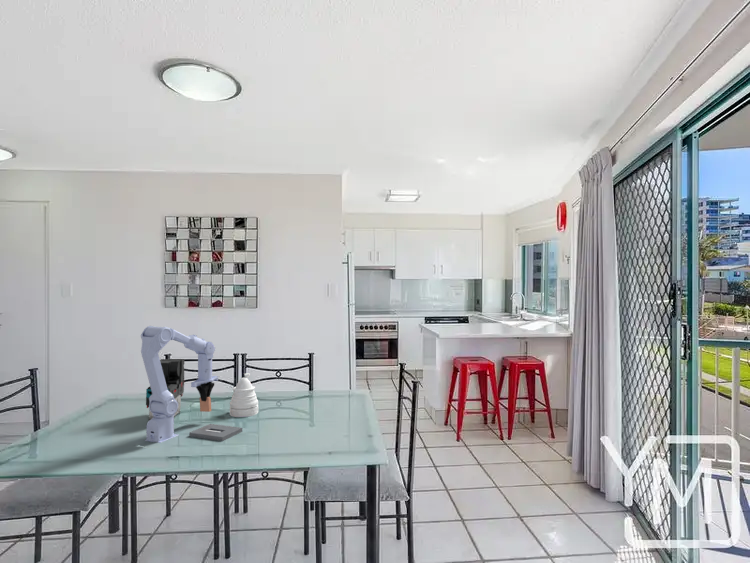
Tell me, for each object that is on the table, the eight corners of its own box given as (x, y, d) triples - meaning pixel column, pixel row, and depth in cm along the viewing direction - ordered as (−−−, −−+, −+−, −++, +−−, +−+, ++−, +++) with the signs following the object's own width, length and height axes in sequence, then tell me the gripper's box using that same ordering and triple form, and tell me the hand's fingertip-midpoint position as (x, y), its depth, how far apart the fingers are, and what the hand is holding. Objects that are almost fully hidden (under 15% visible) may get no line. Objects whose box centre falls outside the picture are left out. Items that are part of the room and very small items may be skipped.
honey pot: (244, 408, 224) (244, 370, 224) (264, 411, 217) (264, 373, 217) (223, 414, 213) (223, 375, 213) (243, 418, 206) (243, 378, 206)
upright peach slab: (209, 411, 198) (208, 397, 198) (200, 411, 199) (199, 397, 200) (211, 410, 199) (210, 397, 199) (202, 410, 201) (201, 396, 201)
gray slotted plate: (222, 442, 175) (222, 436, 175) (189, 437, 181) (189, 432, 181) (242, 432, 186) (242, 427, 186) (210, 428, 192) (210, 423, 192)
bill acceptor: (144, 425, 196) (144, 367, 196) (161, 411, 219) (161, 358, 219) (170, 424, 198) (170, 366, 198) (185, 410, 220) (184, 357, 220)
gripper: (200, 372, 191) (200, 405, 191) (223, 366, 205) (223, 397, 205) (187, 371, 194) (187, 404, 194) (210, 365, 207) (211, 396, 207)
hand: (205, 400), depth 199 cm, fingers closed on upright peach slab, 1 cm apart
